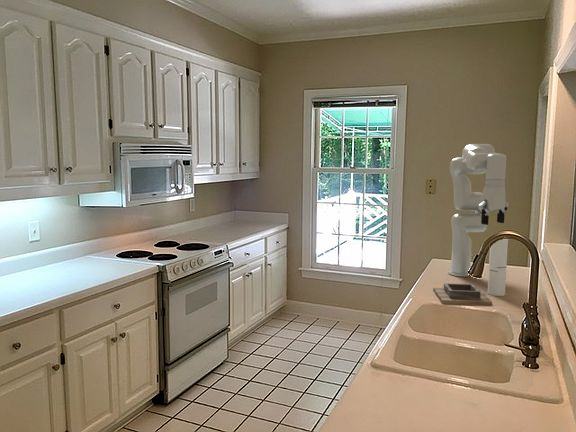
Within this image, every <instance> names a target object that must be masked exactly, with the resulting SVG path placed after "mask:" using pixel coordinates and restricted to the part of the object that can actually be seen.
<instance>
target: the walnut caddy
mask: <svg viewBox="0 0 576 432" xmlns="http://www.w3.org/2000/svg"><path fill="white" fill-rule="evenodd" d="M432 292H433V293H434V294H435V295H436V298H438V300H439V301H440V303H441V304H443V305H472V306H473V305H474V306H493V300H491V299H490V298H489V297H488V296H487V295H486V294H485V293H484V292H483V291H482V289H480V288H478V287H476V285H474V284H473V283H443V287H435V286H434V287H433V288H432Z"/></svg>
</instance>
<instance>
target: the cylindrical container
mask: <svg viewBox="0 0 576 432" xmlns="http://www.w3.org/2000/svg"><path fill="white" fill-rule="evenodd" d="M508 246H509V238H508V239H503V240H499V241H497V242H496V243H494V244H493V245H492V246H491V248H490V247H489V259H488V260H489V261H488V277H487V278H488V279H487V294H488V295H491V296H495V297H496V296H497V297H504V296H505V295H506V284H507V281H506V279H507V265H508V263H507V262H508V248H509V247H508Z"/></svg>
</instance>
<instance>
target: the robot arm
mask: <svg viewBox="0 0 576 432" xmlns="http://www.w3.org/2000/svg"><path fill="white" fill-rule="evenodd" d="M461 154H462V156H460V157H455V158H453V159H452V160H451V161H450V162H449V163H450V165H449V171H450V177H451V179H452V183H453V205H454V208H455V209H456V210H457V211H463V212H464V211H467V213H466V212H464V213H462V212H459V213H456V214H454V215H452V217H451V220H450V224H451V236H452V238H451V262H450V263H451V264H450V269H448V270H447V274H448V275H450V276H455V277H463V278H464V277H470V276H469V275H468V270H469V268H470V267H471V268H472V266H471V265H472V246H473V244H472V243H473V241H472V238H471V236H470V235H469V234H468V233H483V232H485V231H486V230H487V228H488V225H489V219H490V218H489V213H490V212H491V211H492V212H494V211H497V216H496V222H497V223H498V224H500V223H501V224H504V223H505V217H506V216H505V215H506V214H507V213H506V212H507V210H508V208H509V205H510V204H509V202H508V201H506V199H507V198H506V186H505V184H506V170H507V169H506V167H507V155H506V154H504V153H499V152H496V150H495V147H494V146H493V145H492V144H491V143H471V144H470V143H469V144H467V145H465V147H464V148H463V149H462V151H461ZM483 174H485V186H484V187H483V190H482V192H481V191H479V192H478V191H472V181H471V180H470V178H469V177H468V176H467V175H483ZM469 211H471V212H472V213H471V212H470V213H469ZM473 212H476V213H473Z"/></svg>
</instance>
